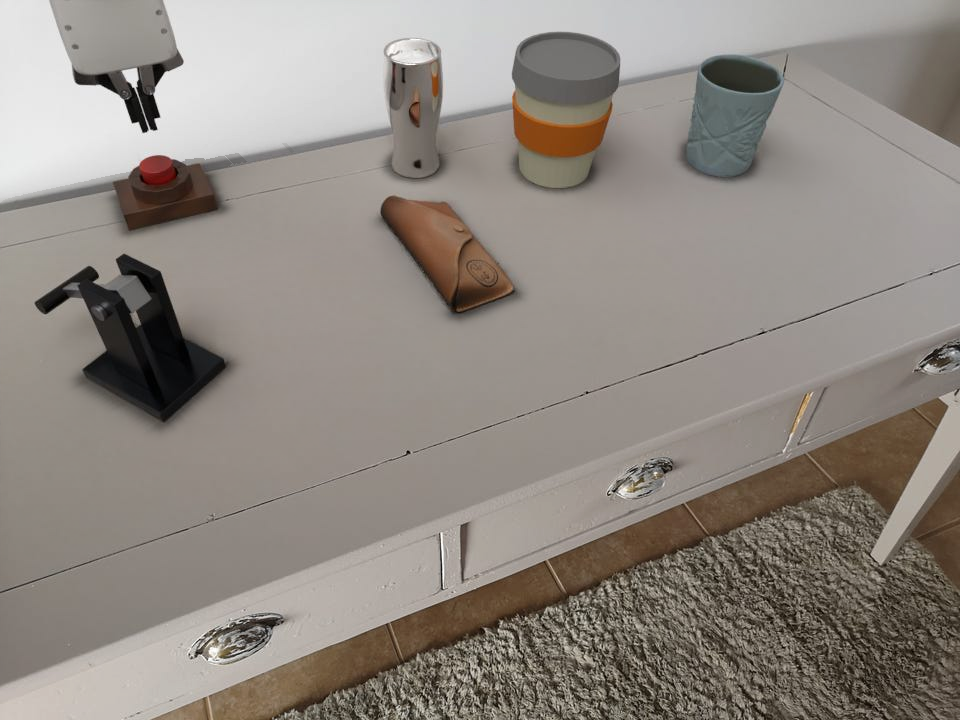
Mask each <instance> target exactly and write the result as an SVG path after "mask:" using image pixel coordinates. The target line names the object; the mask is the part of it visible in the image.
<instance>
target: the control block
mask: <svg viewBox="0 0 960 720" xmlns="http://www.w3.org/2000/svg"><path fill="white" fill-rule="evenodd" d="M171 160H172V162H173V165H174V169H175V172H176V177H175V179H174V180H172V181H170V182H169V183H166V184H162V185H148V184H146V183H145V182H144V180H143V178H142V175H141V172H140V168H139V165H137V166H136V167H134V168H133V169H132V170H131V171H130V173H129V175H128V177H127V178H124V179H120V180H116V181H113V182H112V184H113V187H114V191H115V193H116V196H117V200H118V203H119V206H120V210H121V212H122V213H121V214H122V216H123V218H124V221H125V224H126V226H127V229H128V231H134V230H138V229H141V228H146V227H149V226H150V227H151V226H154V225H159V224H162V223H167V222H170V221H175V220H179V219H183V218H188V217H191V216H196V215H201V214H204V213H208V212H209V213H210V212H213V211H217V210H218V209H219V208H218V205H217V201H216V197H215V193H214V191H213V189H212V186H211V185H210V182H209V180H208V177H207V176H206V174H205V171H204V169H203V167H202V165H201V163H200V162H197V163H191V164H188V165H187V164H186V163H184V162H182V161H180V160H178V159H175V158H171Z"/></svg>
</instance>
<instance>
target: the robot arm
mask: <svg viewBox="0 0 960 720" xmlns="http://www.w3.org/2000/svg"><path fill="white" fill-rule="evenodd" d="M48 1H49V5H50V7H51V8H50V9H51V11H52V14H53V17H54V20H55V23H56V27H57V29H58V32H59V35H60V38H61V40H62V43H63V47H64V49H65V51H66V54H67V57H68V59H69V61H70V64H71V72H72V77H73V81H74V83H75V84H76V85H78V86H101V87H103V88H105V89H107V90H108V91H110V92H112V93H113V94H116V95H118V96H119V98H120V99H122V100H123V101H124V104H125V107H126V111H127V114H128V116H129V119H130V122H131V124H136V123H137V124H138V125H139V127H140V130H141V133H142V134H146V133H148V132H149V131H152V132H155V131H158V125H157V122H156V120H155V119H161V114H160V111H159V108H158V103H157V101H156V97H155V95H154V94H155V93H156V87H157V86H158V84H159V82H160V81H161V80H162V77H163V76H164V75H165V73H167V72H170V71H173V70H176V69H177V68H179V67H181V66H183V65H184V63H185V61H184V58H183V56H182V54H181V53H180V50H179V49H178V46H177V41H176V37H175V34H174V29H173V27H172V24H171V20H170V17H169V14H168V11H167V8H166V5H165V2H164V0H48ZM132 69H133V70H134V69H136V73H137V81H136V86H135V87H134V86H133V85H132V83H131V82H129V81H128V80H127V78H126V77H125V74H124V73H123V71H127V70H132Z"/></svg>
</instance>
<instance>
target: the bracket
mask: <svg viewBox="0 0 960 720" xmlns="http://www.w3.org/2000/svg"><path fill="white" fill-rule="evenodd" d="M115 262H116V264H117V268H118V271H119V272H120V275H131V276H137V277H138V278H139V280H140V281H141V283H142V285H143V286H144V288H145V289H146V291H147V292H148V294H149V295H150V297H151V298H152V299H151V300H150V301H148V302H147V303H146V304H144V305H143V306H142V307H140V308H139V309H138V310H136V311H135V313H136V315H137V318H138V320H139V323H140V324H139V325H137V326H136V325H135V322H134V320H133V318H132V315H131V313H130V312H129V310H128V307H127V305H126V302H125V300H124V298H123V297H121V296H119V295H117V294H115V293H113V292H111V291H109V290H107V289H105V288H103V287H101V286H99V285H97V284H98V283H95V282H91V281H89V280H88V279H86V280H84V281H83V282H81V283H80V284H78V285H77V286H78V288H79V291H80V293H81V295H82V297H83V298H82V299H83V301H84V304H85V306H86V308H87V311H88V313H89V315H90V317H91V319H92V321H93V324H94V326H95V328H96V331H97V332H98V335H99V337H100V339H101V342H102V344H103V346H104V348H105V351H103V353H102V354H100V355H99V356H97V357H96V358H95V359H93V360H92V361H91V362H90V363H89V364H87V365H86V366H85V367H83V368H82V372H83V374H84V376H85V378H86V379H88V380H89V381H91V382H92V383H95V384H97V385H98V386H100V387H102V388H103V389H105V390H107V391H108V392H110V393H112V394H114V395H116V396H118V397H119V398H120V399H122V400H125V401H126V402H128V403H130V404H132V405H133V406H135V407H137V408H139V409H140V410H142V411H144V412H145V413H147V414H149V415H150V416H152V417H154V418H156V419H157V420H159V421H161V422H166V421H167V420H168V419H169V418H170V417H172V415H174V414H175V413H176V412H177V411H178V410H179V409H180V408H181V407H183V406H184V405H185V404H186V403H187V402H188V401H189V400H191V399H192V398H193V397H194V396H195V395H196V394H197V393H199V391H200V390H202V389H203V388H205V386H207V384H208V383H210V382H211V381H212V380H213V379H214V378H215V377H216V376H218V375H219V374H220V373H221V372H222V371H223V370H224V369H225V368H226V367H227V366H226V362H225V359H224V358H223V357H222V356H220V355H217V354H216V353H214V352H212V351H210V350H208V349H206V348H204V347H202V346H201V345H198V344H197V343H194V342H193V341H190V340H189V339H187V338H185V337H184V334H183V332H182V329H181V326H180V324H179V321H178V317H177V314H176V312H175V309H174V306H173V304H172V300H171V296H170V294H169V291H168V289H167V285H166V283H165V279H164V277H163V274H162V271H161V270H159V269H157V268H156V267H153V266H152V265H149V264H146V262H145V263H144V262H143V261H140V260H138V259H136V258H134V257H133V256H131V255H128V254H126V253H123V254H121V255H119V256H118V257H116V258H115Z"/></svg>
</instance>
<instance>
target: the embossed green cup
mask: <svg viewBox="0 0 960 720" xmlns="http://www.w3.org/2000/svg"><path fill="white" fill-rule="evenodd" d="M784 84H785V77H784V75H783V73H782V72H781V70H780V69H779V68H778V67H776V66H775V65H773V64H771V63H770V62H767V61H766V60H763V59H761V58H756V57H752V56H748V55H743V54H718V55H714V56H710V57H708V58H706V59H704V60H703V61H702V62H701V63H700V64H699V66H698V68H697V74H696V82H695V92H694V96H693V102H694V103H692V111H691V118H690V127H689V131H688V136H687V144H686V147H685V159H686V161H687V162H688V164H689V165H690V166H691V167H693V168H694V169H696V170H697V171H699V172H701V173H703V174H706V175H709V176H712V177H717V178H732V177H736V176H740V175H742V174H744V173H746V172H747V171H748V170H749V169H750V167H751V165H752V163H753V160H754V158H755V156H756V152H757V149H758V145H759V143H760V142H761V140H762V137H763V135H764V132H765V131H766V128H767V121H768V120H769V118H770V116H771V115H772V112H773V111H774V108H775V105H776V103H777V101H778V98H779V95H780V94H781V91H782V89H783V87H784Z"/></svg>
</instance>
